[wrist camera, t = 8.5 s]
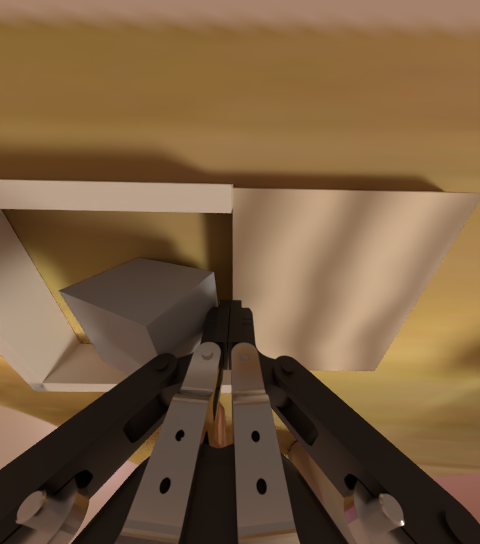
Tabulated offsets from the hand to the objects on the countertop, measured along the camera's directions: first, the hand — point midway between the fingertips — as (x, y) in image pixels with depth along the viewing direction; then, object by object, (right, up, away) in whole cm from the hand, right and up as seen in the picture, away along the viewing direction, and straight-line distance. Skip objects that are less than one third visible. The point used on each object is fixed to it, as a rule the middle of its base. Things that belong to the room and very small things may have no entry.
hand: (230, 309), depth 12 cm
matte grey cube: (-4, +1, +1) cm, 4 cm away
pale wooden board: (+7, +1, +3) cm, 8 cm away
